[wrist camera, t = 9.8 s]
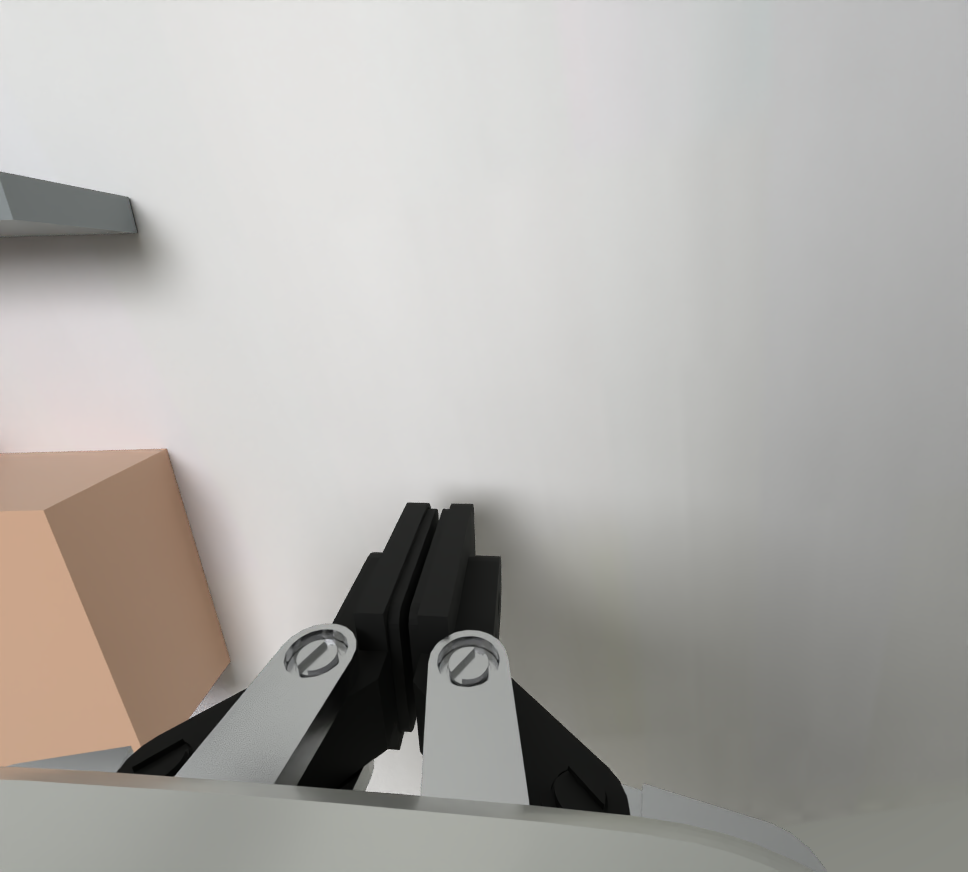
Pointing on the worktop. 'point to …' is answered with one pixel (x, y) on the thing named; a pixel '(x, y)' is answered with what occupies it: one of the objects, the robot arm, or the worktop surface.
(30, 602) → the tile
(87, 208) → the organizer bay
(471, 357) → the worktop surface
